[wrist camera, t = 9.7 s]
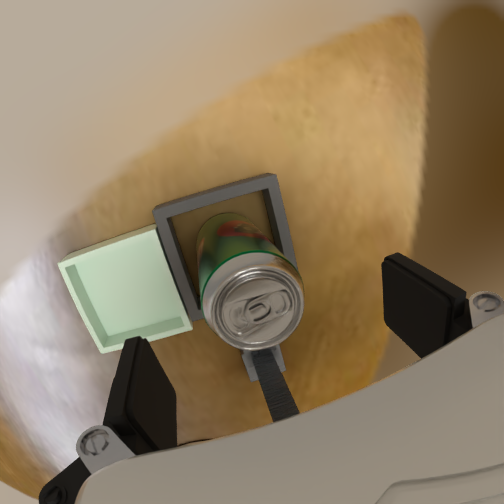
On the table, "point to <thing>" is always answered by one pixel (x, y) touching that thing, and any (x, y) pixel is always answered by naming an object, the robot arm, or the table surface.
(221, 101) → the table surface
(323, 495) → the robot arm
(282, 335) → the soda can
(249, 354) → the post
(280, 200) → the collar
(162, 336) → the tray
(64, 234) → the table surface
